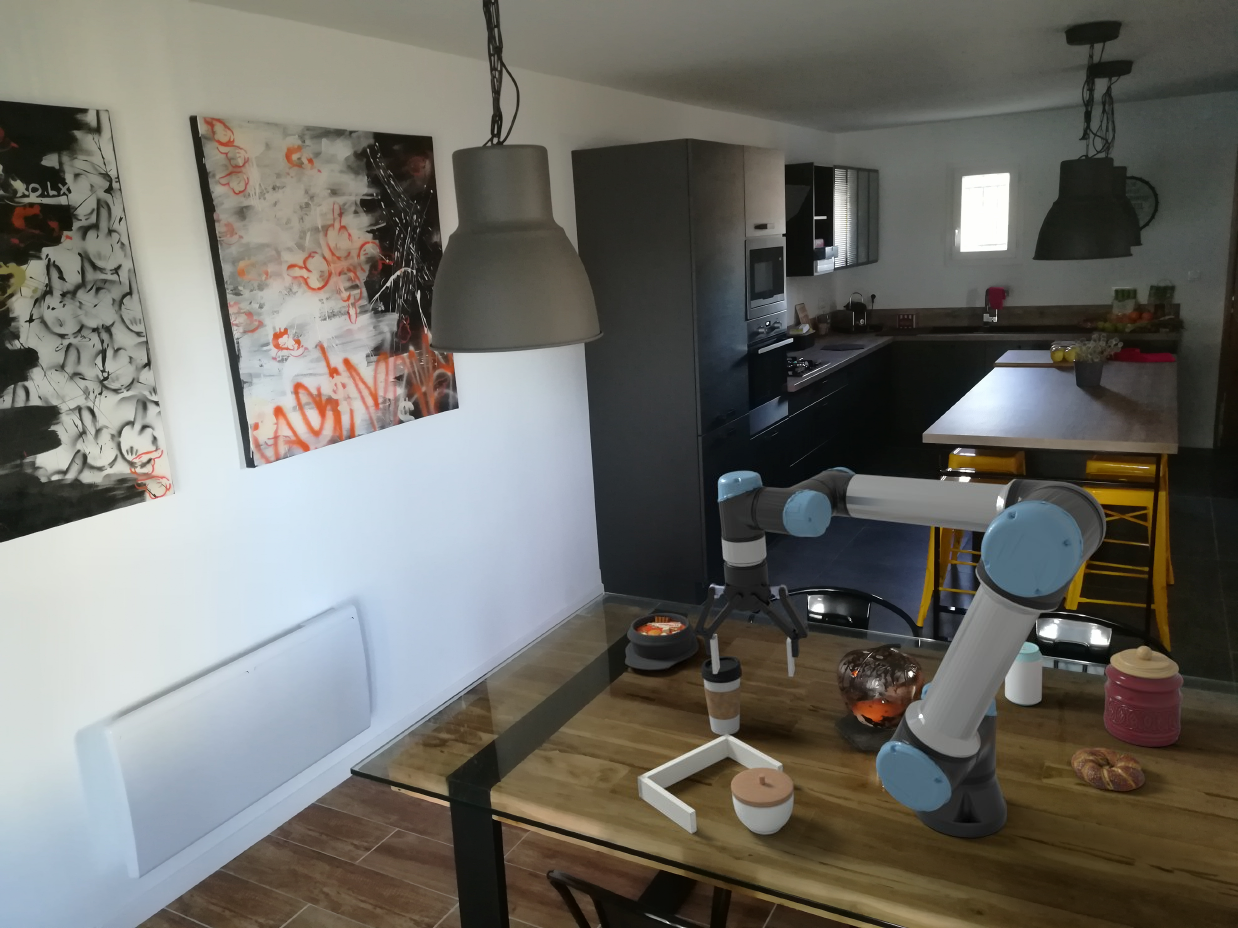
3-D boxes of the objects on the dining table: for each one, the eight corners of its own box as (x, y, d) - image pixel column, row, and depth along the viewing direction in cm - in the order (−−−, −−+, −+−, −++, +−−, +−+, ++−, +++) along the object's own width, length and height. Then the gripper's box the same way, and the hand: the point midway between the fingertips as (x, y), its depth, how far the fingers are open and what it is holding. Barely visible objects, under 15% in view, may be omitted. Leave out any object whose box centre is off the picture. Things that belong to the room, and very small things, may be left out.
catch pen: (783, 783, 168) (782, 763, 167) (691, 833, 155) (689, 813, 155) (728, 751, 180) (727, 733, 179) (639, 796, 168) (637, 776, 167)
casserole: (647, 631, 242) (645, 602, 240) (713, 638, 234) (711, 608, 232) (608, 672, 220) (605, 640, 218) (679, 681, 212) (676, 648, 210)
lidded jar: (781, 849, 149) (778, 799, 147) (723, 832, 155) (719, 784, 153) (804, 814, 158) (802, 766, 156) (748, 799, 164) (745, 753, 162)
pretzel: (1058, 775, 163) (1058, 757, 163) (1087, 752, 170) (1088, 734, 169) (1127, 802, 154) (1128, 783, 153) (1155, 777, 160) (1156, 758, 159)
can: (1024, 710, 186) (1025, 656, 183) (997, 696, 192) (997, 644, 189) (1049, 701, 188) (1050, 648, 186) (1021, 688, 195) (1022, 636, 192)
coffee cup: (744, 738, 184) (739, 671, 181) (703, 737, 186) (698, 671, 183) (746, 718, 192) (742, 653, 189) (707, 717, 194) (702, 653, 191)
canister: (1187, 726, 175) (1192, 642, 171) (1171, 755, 166) (1175, 667, 162) (1113, 708, 184) (1116, 627, 180) (1094, 735, 174) (1097, 651, 171)
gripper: (819, 552, 157) (826, 665, 161) (680, 553, 165) (690, 660, 169) (815, 566, 150) (822, 683, 154) (670, 566, 158) (681, 678, 162)
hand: (753, 671), depth 162 cm, fingers open, 13 cm apart
